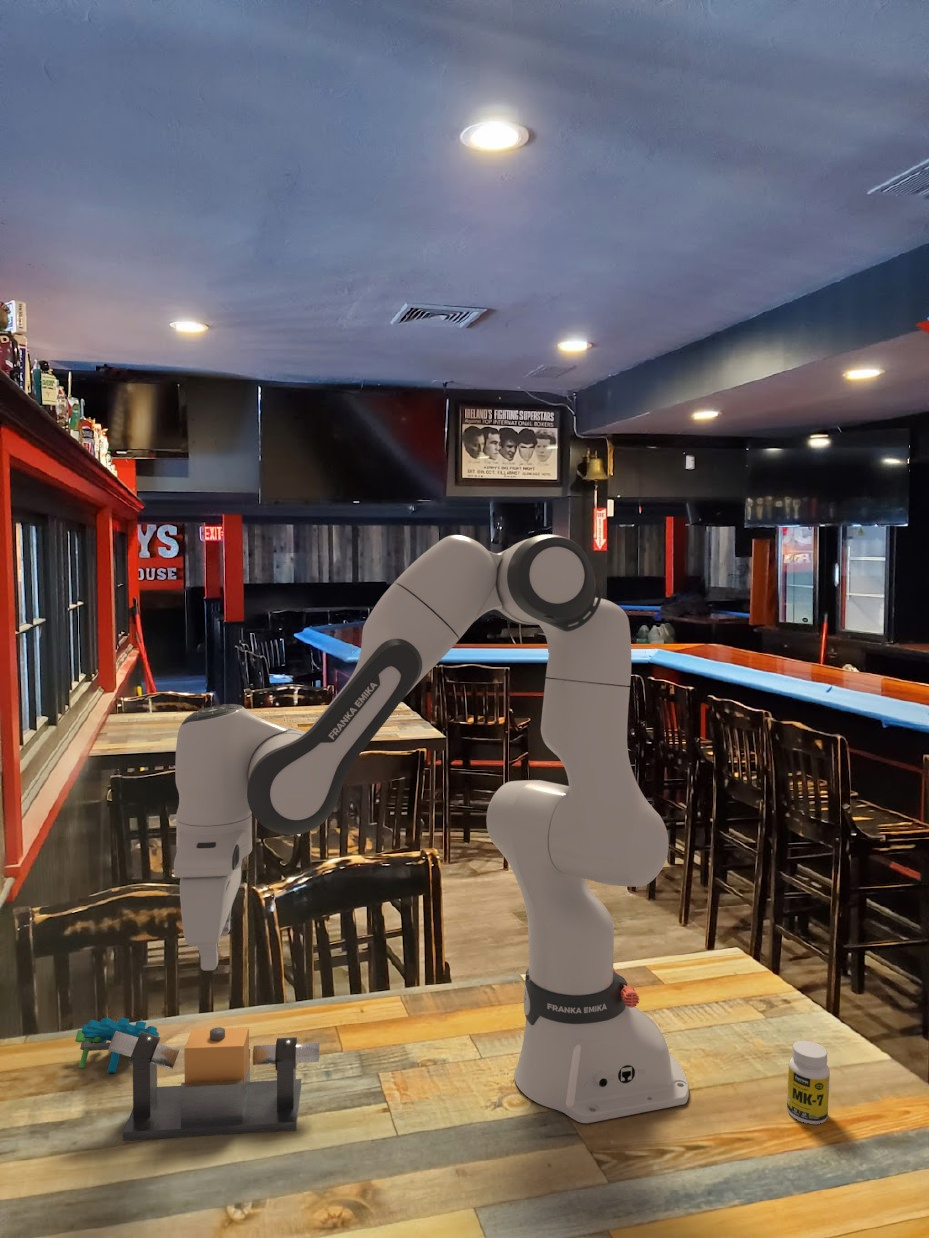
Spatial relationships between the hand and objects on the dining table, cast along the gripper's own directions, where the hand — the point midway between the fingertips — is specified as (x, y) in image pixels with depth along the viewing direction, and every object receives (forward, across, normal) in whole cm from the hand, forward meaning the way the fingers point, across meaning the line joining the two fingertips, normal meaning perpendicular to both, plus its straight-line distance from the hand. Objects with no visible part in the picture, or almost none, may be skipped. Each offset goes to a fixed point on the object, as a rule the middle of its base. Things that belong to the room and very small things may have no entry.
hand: (216, 950), depth 109 cm
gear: (+21, -13, -16) cm, 29 cm away
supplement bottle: (+21, +8, +73) cm, 76 cm away
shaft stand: (+20, 0, 0) cm, 21 cm away
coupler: (+16, 0, 0) cm, 16 cm away
